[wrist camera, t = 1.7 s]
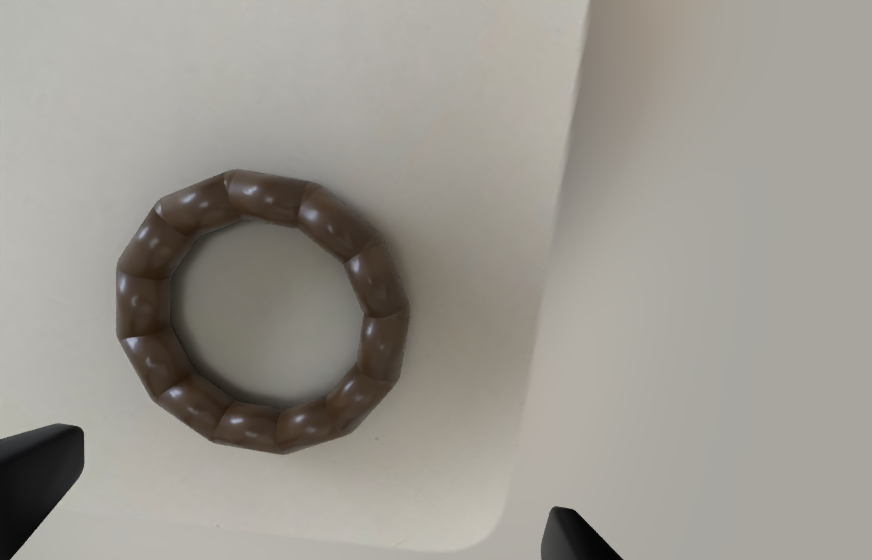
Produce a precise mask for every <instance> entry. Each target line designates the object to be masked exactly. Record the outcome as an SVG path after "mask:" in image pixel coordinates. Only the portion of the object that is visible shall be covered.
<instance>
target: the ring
mask: <svg viewBox="0 0 872 560" xmlns="http://www.w3.org/2000/svg"><path fill="white" fill-rule="evenodd" d="M243 219H246V220H252V221H258V222H263V223H269V224H275V225H281V226H286V227H292V228H298V229H299V230H300V231H302V232H303V233H304V234H305V235H307V236H308V237H309V238H310V239H312V240H313V241H314V242H316V243H317V244H318V245H319V246H321V247H322V248H323V249H324V250H326V251H327V252H328V253H329V254H331V255H332V256H333V257H334V258H336V259H337V260H338V261H339V262H341V263H342V264H343V266H344V268H345V270H346V273H347V275H348V278H349V280H350V282H351V285H352V287H353V289H354V292H355V294H356V297H357V299H358V301H359V304H360V306H361V308H362V311H363V313H364V317H363V324H362V331H361V339H360V346H359V353H358V360H357V362H356V364H355V365H354V366H353V367H352V368H351V369H350V371H349V372H348V373H347V374H346V375H345V376H344V378H343V379H342V380H341V381H340V382H339V383H338V385H337V386H336V387H335V388H334V389H333V390H332V392H331V393H330V394H329V395H327V396H324V397H321V398H318V399H315V400H312V401H309V402H306V403H303V404H300V405H297V406H294V407H291V408H288V409H280V408H274V407H269V406H263V405H257V404H251V403H245V402H239V401H236V400H234V399H233V398H232V397H230V396H229V395H227V394H226V393H225V392H223V391H222V390H220V389H219V388H218V387H216V386H215V385H213V384H212V383H211V382H209V381H208V380H207V379H205V378H204V377H202V376H201V375H200V374H198V373H197V372H195V371H194V369H193V368H192V366H191V364H190V362H189V360H188V358H187V356H186V354H185V352H184V350H183V349H182V347H181V345H180V343H179V341H178V339H177V337H176V335H175V333H174V331H173V330H172V328H171V326H170V306H171V275H172V274H173V273H174V271H175V270H176V268H177V267H178V265H179V264H180V263H181V261H182V260H183V258H184V257H185V255H186V254H187V253H188V251H189V250H190V248H191V247H192V245H193V244H194V243H195V241H196V240H197V238H198V237H199V236H202V235H205V234H207V233H210V232H212V231H215V230H217V229H220V228H223V227H225V226H228V225H230V224H233V223H236V222H238V221H241V220H243ZM409 318H410V305H409V302H408V299H407V297H406V294H405V292H404V289H403V287H402V284H401V282H400V279H399V276H398V274H397V271H396V269H395V266H394V264H393V261H392V259H391V256H390V254H389V251H388V249H387V246H386V244H385V241H384V239H383V237H382V236H381V235H380V234H379V233H378V232H377V231H376V230H375V229H374V228H372V227H371V226H370V225H369V224H367V223H366V222H365V221H364V220H363V219H361V218H360V217H359V216H358V215H356V214H355V213H354V212H353V211H352V210H350V209H349V208H348V207H347V206H345V205H344V204H343V203H342V202H341V201H339V200H338V199H337V198H336V197H334V196H333V195H332V194H331V193H330V192H328V191H327V190H326V189H325V188H323V187H322V186H321V185H319V184H317V183H313V182H309V181H303V180H297V179H292V178H286V177H280V176H275V175H269V174H263V173H258V172H252V171H246V170H240V169H236V170H230V171H227V172H224V173H222V174H219V175H217V176H214V177H212V178H209V179H207V180H204V181H202V182H199V183H197V184H194V185H192V186H189V187H187V188H184V189H182V190H179V191H177V192H174V193H172V194H169V195H167V196H165V197H163V198H161V199H160V200H159V201H157V203H156V204H155V205H154V207H153V208H152V210H151V211H150V213H149V214H148V216H147V217H146V219H145V220H144V222H143V223H142V225H141V226H140V228H139V229H138V231H137V232H136V234H135V235H134V237H133V238H132V240H131V241H130V243H129V244H128V246H127V247H126V249H125V251H124V252H123V254H122V255H121V257H120V258H119V260H118V262H117V268H116V332H117V338H118V340H119V342H120V344H121V346H122V347H123V349H124V351H125V353H126V355H127V356H128V358H129V360H130V362H131V364H132V365H133V367H134V369H135V371H136V373H137V374H138V376H139V378H140V380H141V382H142V383H143V385H144V387H145V389H146V391H147V392H148V394H149V396H150V398H151V399H152V400H153V401H154V402H155V403H156V404H157V405H159V406H160V407H162V408H163V409H164V410H166V411H167V412H169V413H170V414H172V415H173V416H175V417H176V418H177V419H179V420H180V421H182V422H183V423H185V424H186V425H187V426H189V427H190V428H192V429H193V430H195V431H196V432H197V433H199V434H200V435H202V436H203V437H205V438H206V439H207V440H209V441H211V442H212V443H216V444H220V445H226V446H232V447H238V448H244V449H250V450H256V451H262V452H268V453H274V454H281V455H285V454H289V453H293V452H296V451H299V450H302V449H305V448H308V447H311V446H315V445H318V444H321V443H324V442H327V441H330V440H333V439H336V438H340V437H343V436H346V435H348V434H350V433H352V432H353V431H354V430H355V429H356V428H357V427H358V426H359V425H360V424H361V423H362V422H363V420H364V419H365V418H366V417H367V416H368V415H369V414H370V413H371V411H372V410H373V409H374V408H375V407H376V406H377V405H378V404H379V403H380V401H381V400H382V399H383V398H384V397H385V396H386V395H387V394H388V392H389V391H390V390H391V389H392V388H393V387H394V386H395V384H396V383H397V381H398V379H399V377H400V372H401V366H402V360H403V354H404V348H405V342H406V336H407V330H408V324H409Z"/></svg>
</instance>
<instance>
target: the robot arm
mask: <svg viewBox="0 0 872 560" xmlns="http://www.w3.org/2000/svg"><path fill="white" fill-rule="evenodd" d="M83 468H84V432H83V430H82V429H81V428H80V427H78V426H73V425H67V424H60V423H59V424H52V425H49V426H45V427H42V428H38V429H35V430H31V431H28V432H24V433H21V434H17V435H14V436H10V437H7V438H3V439H0V560H10V559H11V558H12V557H13V555H14V554H15V553H16V552H17V551H18V550H19V549H20V548H21V546H22V545H23V544H24V543H25V542H26V541H27V539H28V538H29V537H30V536H31V535H32V533H33V532H34V531H35V530H36V529H37V527H38V526H39V525H40V524H41V523H42V521H43V520H44V519H45V518H46V517H47V515H48V514H49V513H50V512H51V511H52V509H53V508H54V507H55V506H56V505H57V504H58V502H59V501H60V500H61V499H62V498H63V496H64V495H65V494H66V493H67V492H68V490H69V489H70V488H71V487H72V486H73V484H74V483H75V482H76V481H77V480H78V478H79V477H80V475H81V473H82V471H83ZM541 559H542V560H623V559H622V558H621V557H620V556H619V555H618V554H617V553H616V552H615V551H614V550H613V549H612V548H611V547H610V546H609V545H608V544H607V542H605V540H603V538H602V537H601V536H599V534H598V533H597V532H596V531H595V530H594V529H593V528H592V527H591V526H590V525H589V524H588V523H587V522H586V521H585V520H584V519H583V518H582V517H581V516H580V515H579V514H578V513H577V512H576V511H575V510H573V509H569V508H563V507H557V506H556V507H553V508H552V509H551V511H550V513H549V517H548V521H547V524H546V528H545V531H544V535H543V539H542V544H541Z"/></svg>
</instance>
